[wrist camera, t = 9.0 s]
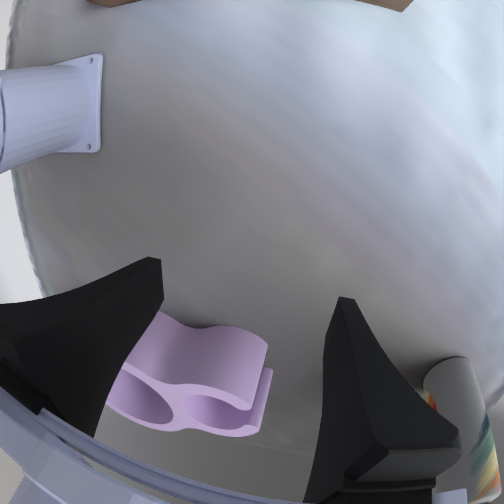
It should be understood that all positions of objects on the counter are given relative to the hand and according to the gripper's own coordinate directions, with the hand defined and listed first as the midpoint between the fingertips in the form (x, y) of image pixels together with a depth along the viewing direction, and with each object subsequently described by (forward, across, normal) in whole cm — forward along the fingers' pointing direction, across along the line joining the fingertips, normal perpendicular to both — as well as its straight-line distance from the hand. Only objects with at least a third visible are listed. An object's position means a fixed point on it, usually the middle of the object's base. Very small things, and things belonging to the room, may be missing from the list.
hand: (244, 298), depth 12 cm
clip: (+10, +8, +17) cm, 21 cm away
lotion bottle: (+10, -20, +13) cm, 26 cm away
